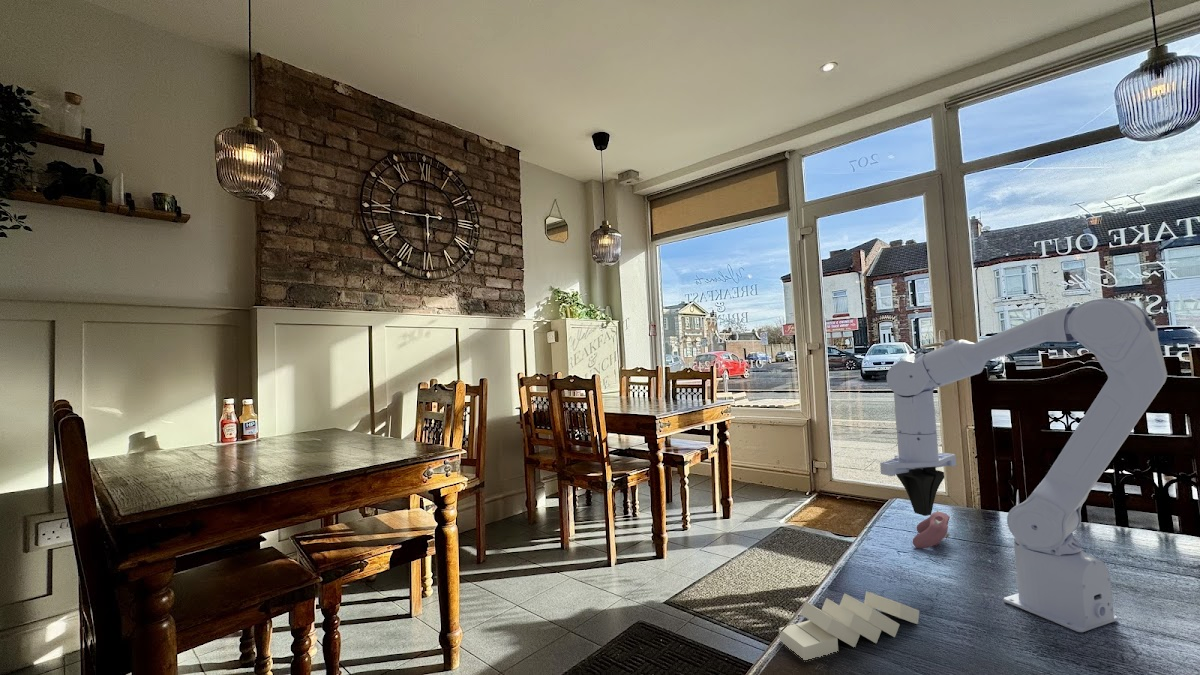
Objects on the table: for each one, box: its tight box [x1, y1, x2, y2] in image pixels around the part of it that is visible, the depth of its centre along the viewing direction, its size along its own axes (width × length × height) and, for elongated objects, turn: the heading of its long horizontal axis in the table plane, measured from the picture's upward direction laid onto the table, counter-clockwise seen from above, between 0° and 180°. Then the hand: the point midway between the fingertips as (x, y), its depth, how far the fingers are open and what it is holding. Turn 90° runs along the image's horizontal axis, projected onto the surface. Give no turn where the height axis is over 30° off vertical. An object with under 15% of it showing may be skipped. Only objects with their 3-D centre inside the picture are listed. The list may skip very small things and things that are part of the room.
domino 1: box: [778, 619, 839, 661], centre depth 66 cm, size 5×2×5 cm
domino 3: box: [820, 597, 883, 644], centre depth 67 cm, size 5×2×5 cm
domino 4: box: [839, 592, 901, 638], centre depth 69 cm, size 5×2×5 cm
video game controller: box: [912, 509, 951, 549], centre depth 97 cm, size 10×5×7 cm, turn 144°
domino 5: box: [863, 590, 920, 625], centre depth 70 cm, size 5×2×5 cm
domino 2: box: [800, 601, 861, 648], centre depth 67 cm, size 5×2×5 cm
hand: (922, 513), depth 85 cm, fingers closed
